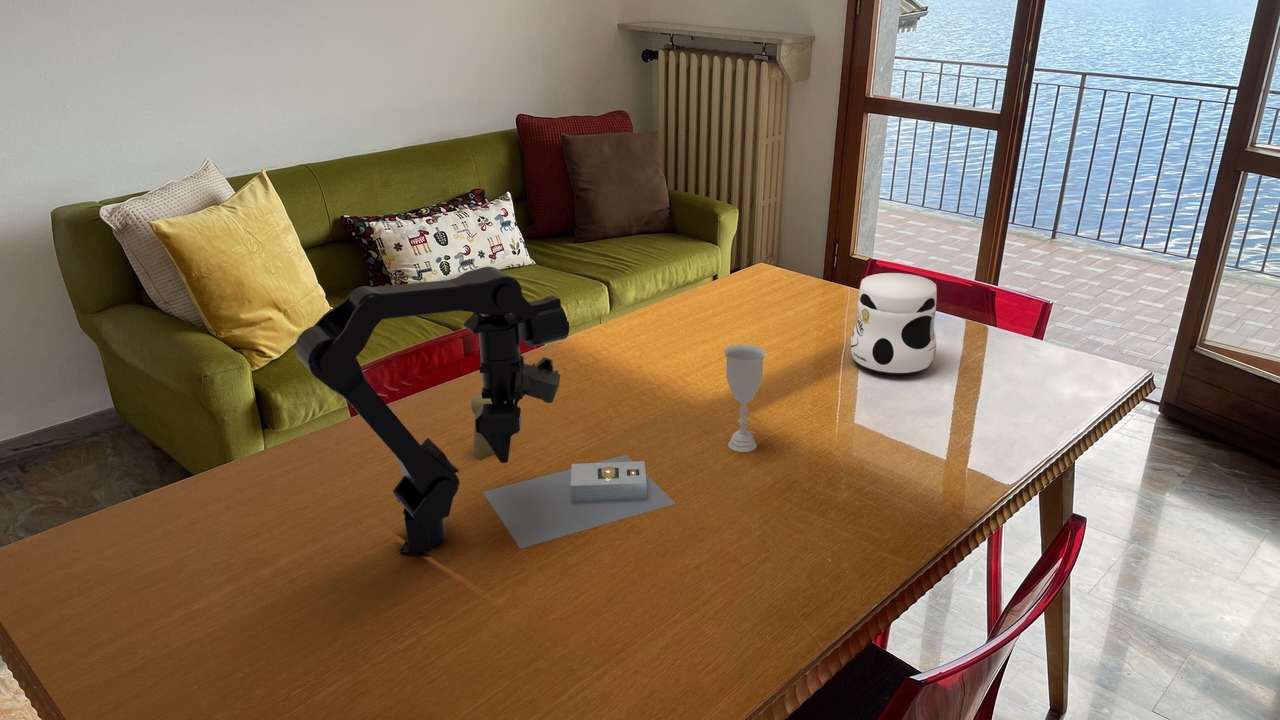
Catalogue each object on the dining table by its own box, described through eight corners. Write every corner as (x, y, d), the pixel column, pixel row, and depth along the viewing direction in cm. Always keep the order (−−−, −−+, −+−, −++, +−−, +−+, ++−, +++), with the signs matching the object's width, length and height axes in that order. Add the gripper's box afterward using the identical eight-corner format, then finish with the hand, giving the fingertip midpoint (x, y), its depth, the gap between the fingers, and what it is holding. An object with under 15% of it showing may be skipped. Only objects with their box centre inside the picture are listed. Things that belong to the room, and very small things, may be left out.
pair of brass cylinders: (602, 493, 152) (601, 473, 150) (602, 486, 154) (601, 466, 153) (636, 491, 152) (636, 472, 151) (636, 484, 154) (635, 465, 153)
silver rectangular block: (571, 502, 150) (570, 485, 148) (572, 479, 156) (571, 463, 155) (646, 499, 150) (646, 483, 149) (644, 477, 156) (644, 461, 155)
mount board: (520, 554, 138) (520, 548, 138) (483, 497, 153) (482, 492, 153) (675, 509, 149) (675, 503, 149) (626, 459, 164) (626, 454, 163)
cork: (501, 461, 164) (496, 404, 160) (468, 458, 165) (462, 402, 161) (512, 445, 170) (507, 389, 165) (480, 442, 171) (475, 387, 166)
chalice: (715, 449, 167) (717, 355, 160) (730, 433, 172) (732, 341, 165) (754, 457, 164) (757, 363, 156) (768, 441, 169) (772, 348, 162)
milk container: (834, 355, 204) (839, 276, 197) (904, 345, 209) (912, 267, 202) (876, 387, 189) (883, 302, 182) (950, 375, 194) (960, 292, 187)
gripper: (552, 378, 129) (557, 477, 136) (558, 329, 147) (562, 419, 153) (471, 380, 129) (479, 479, 135) (486, 331, 146) (493, 421, 152)
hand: (507, 447), depth 144 cm, fingers open, 9 cm apart
